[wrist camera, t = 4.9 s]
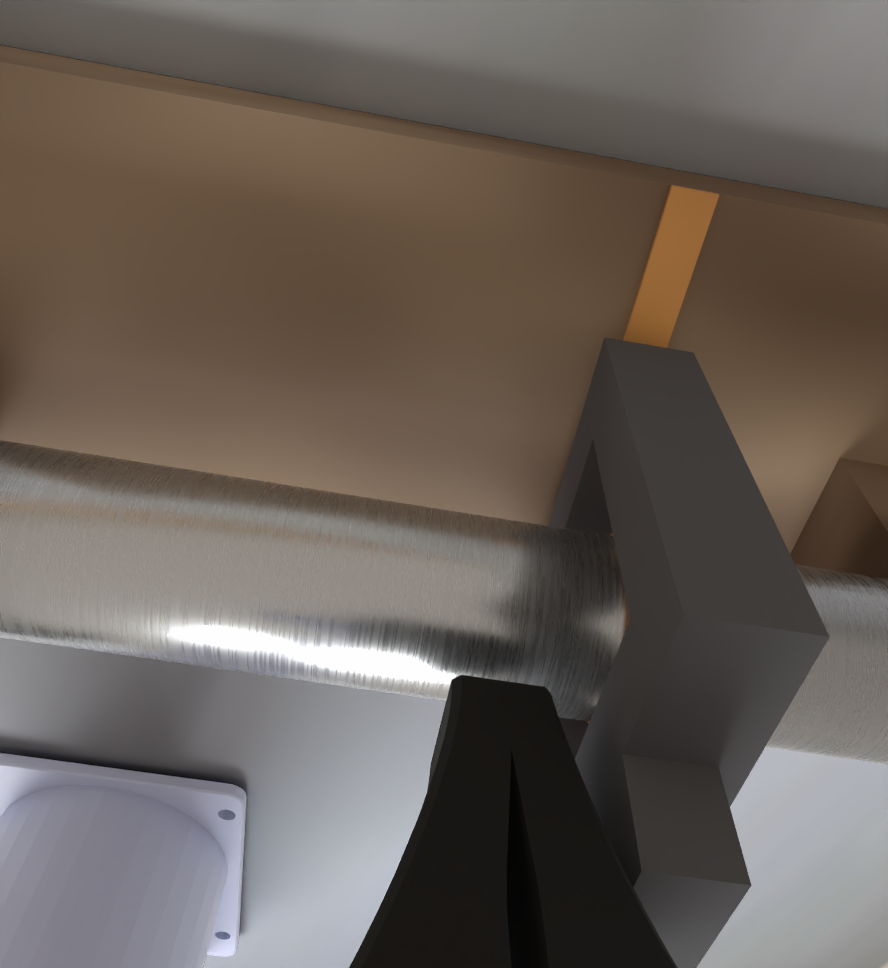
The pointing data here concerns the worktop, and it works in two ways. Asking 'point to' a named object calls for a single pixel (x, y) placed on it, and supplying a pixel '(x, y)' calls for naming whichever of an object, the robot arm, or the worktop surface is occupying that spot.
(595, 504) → the grey pipe bracket
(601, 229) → the pipe stand
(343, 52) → the worktop surface
